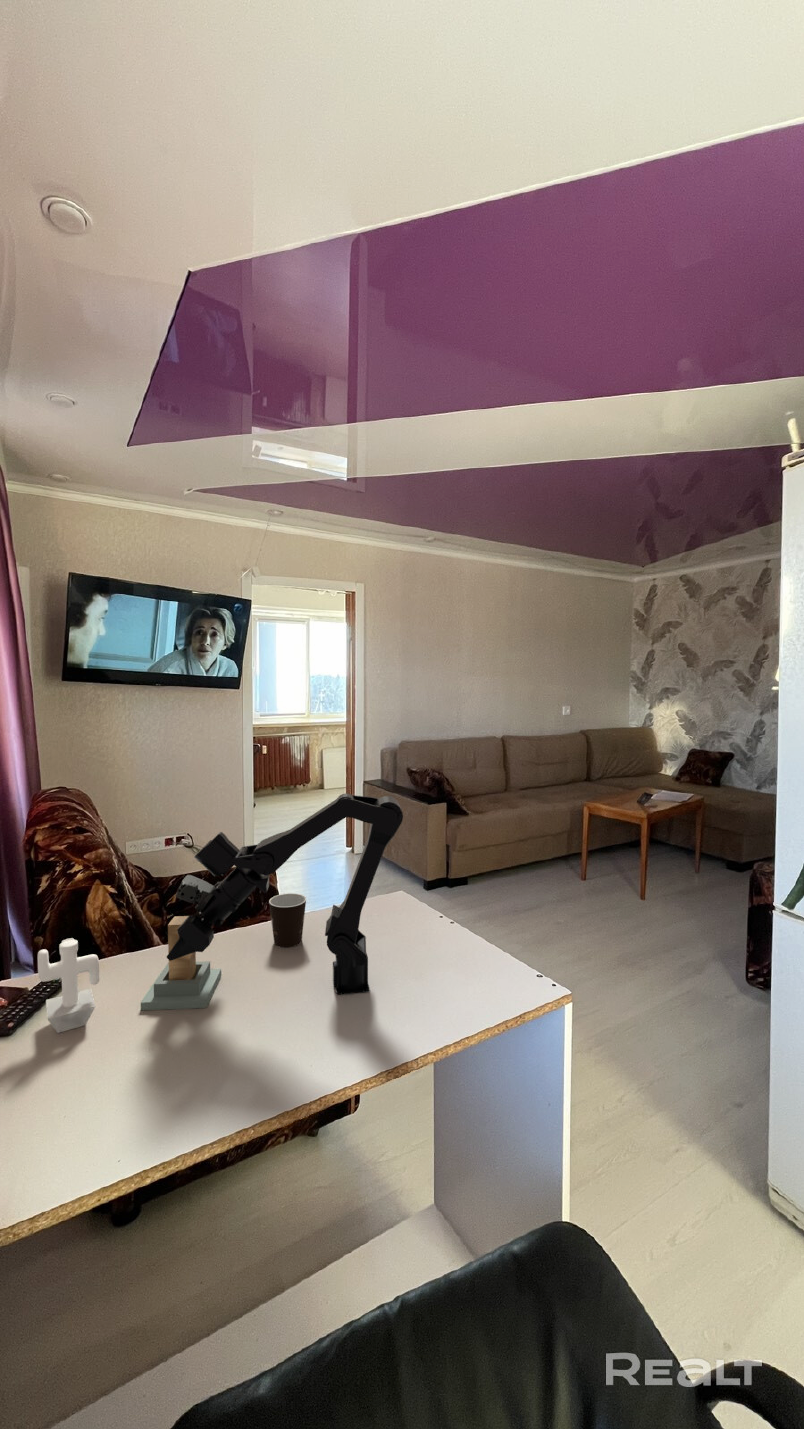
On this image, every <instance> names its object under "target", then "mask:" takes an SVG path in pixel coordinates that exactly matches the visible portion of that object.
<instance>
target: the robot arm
mask: <svg viewBox="0 0 804 1429" xmlns="http://www.w3.org/2000/svg"><path fill="white" fill-rule="evenodd" d="M345 818H350V819H351V818H352V819H354V820H357V821H360V822H363V823H366V824H369V828H368V829H369V830H368V834H367V839H366V842H365V844H364V848H363V850H362V853H361V855H360V858H359V861H358V863H357V865H356V869H355V871H354V874H353V877H352V878H351V882H350V884H349V888H348V890H347V893H346V895H345V898H344V900H343V902H341V904H340V905H339V906H337V905H335V904H332V910H331V913H330V916H329V917H328V919H327V920H326V924H325V933H324V936H325V937H326V946H327V948H328V950H329V952H331V954H333V955H335V960H334V961H332V985H333V987H334V988H335V992H336V994H337V995H349V994H358V993H359V994H360V993H369V992H370V985H369V957H368V953H367V937H366V935H365V934H364V933H362V932H361V931H360V930H359V927H360V921H361V915H362V910H363V908H364V905H365V902H366V899H367V897H368V894H369V892H370V889H371V886H372V884H373V882H374V879H375V875H376V873H377V870H378V867H379V865H380V862H381V860H382V857H383V855H384V851H385V850H386V847H387V846H388V844H389V843H390V842H391V841H392V839H393V838H394V837H395V835H396V834H397V831H399V830H398V829H400V826H401V825H402V822H403V819H404V814H403V810H402V807H401V805H400V803H399V801H398V800H397V799H396V798H395V797H393V796H390V795H385V796H381V797H379V798H378V797H374V796H363V795H354V794H351V793H341V794H340V795H338V797H337V798H336V799H335V800H333V801H331V802H330V803H329V804H327V805H325V806H324V807H322V808H321V809H319V810H317V812H314V813H313V814H312V815H310V816H309V817H307V818H305V819H304V820H302V821H301V822H299V823H297V824H296V825H294V826H293V827H291V828H290V829H287V830H285V831H282V832H279V833H276V834H273V835H271V836H269V837H267V838H265V839H262V840H261V841H259V842H258V843H257V844H252V845H246V846H245V845H243V846H242V847H240V849H239V848H238V847H237V846H236V845H235V844H234V843H233V842H232V841H231V840H230V839H229V838H228V837H227V835H226V834H225V833H223V831H219V832H218V834H217V835H216V836H214V837H213V838H212V839H210V840H209V841H208V842H207V843H206V844H205V845H204V846H203V847H202V848H201V849H200V850H199V851H198V852H197V853H196V854H195V855H194V856H193V858H194V859H195V860H196V861H197V862H199V863H200V864H201V865H202V866H203V867H204V868H205V869H206V870H207V871H208V872H209V873H210V874H212V876H214V877H217V878H219V877H220V876H222V877H224V876H225V875H226V874H228V872H229V871H230V870H232V868H234V867H235V868H234V869H233V870H232V871H231V872H230V873H229V874H228V875H227V876H225V877H224V879H223V880H221V881H217V882H216V883H215V885H213V884H211V883H209V882H208V881H206V880H203V879H201V878H199V877H196V876H194V875H191V874H187V875H186V876H185V877H184V878H183V879H182V881H181V883H179V884H180V885H179V886H178V888H177V890H176V893H175V897H176V899H179V900H183V901H185V902H187V903H191V904H195V907H194V909H195V910H196V914H189V915H187V916H188V917H187V918H186V919H185V920H184V922H183V923H182V924H181V925H180V927H179V928H178V929H177V931H178V934H179V939H178V941H177V942H176V944H175V945H174V947H173V948H172V949H171V951H170V952H169V954H168V953H167V955H166V959H167V960H168V961H169V960H170V961H172V960H174V959H177V958H180V957H182V956H185V955H188V954H191V953H194V952H196V953H203V952H205V950H206V949H207V948H208V947H209V946H210V944H211V943H212V941H213V939H215V938H214V936H215V935H214V934H215V933H214V929H213V928H212V927H213V925H214V926H215V927H216V928H218V929H219V928H220V927H221V926H222V925H223V923H224V922H225V920H226V919H227V918H228V917H229V916H230V915H231V914H234V913H235V912H236V911H237V910H238V908H239V906H240V905H241V904H242V903H243V902H244V901H245V900H246V899H247V898H248V897H249V896H250V895H251V894H252V893H253V892H254V891H255V890H256V889H257V888H258V889H259V890H260V891H262V893H264V894H266V893H267V892H268V890H269V887H270V875H272V874H274V873H275V872H276V871H278V869H280V868H281V867H282V866H283V865H284V864H285V863H286V862H287V861H288V860H289V859H290V858H291V856H293V854H294V853H296V852H297V851H298V850H299V849H300V848H302V847H303V846H305V845H306V844H308V843H309V842H310V841H312V840H313V839H314V840H315V838H317V837H318V836H320V835H321V834H322V833H324V832H326V831H328V830H330V828H332V827H333V826H335V825H336V824H338V823H339V822H341V821H343V820H344V819H345Z"/></svg>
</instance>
